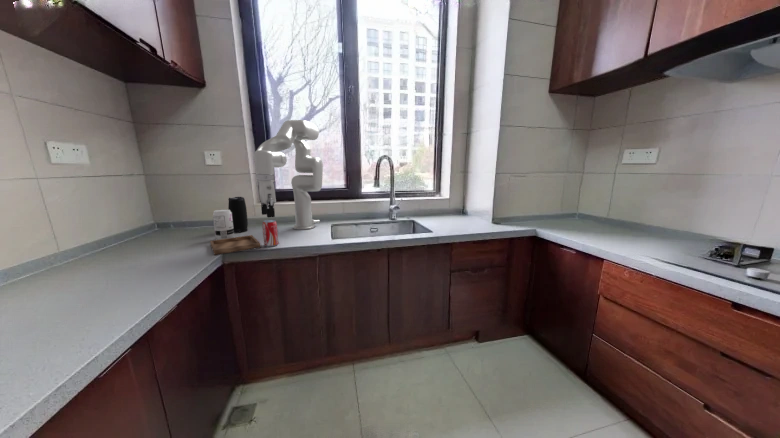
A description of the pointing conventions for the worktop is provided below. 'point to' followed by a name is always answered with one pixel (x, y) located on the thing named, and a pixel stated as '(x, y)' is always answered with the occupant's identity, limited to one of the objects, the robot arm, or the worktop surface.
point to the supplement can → (223, 224)
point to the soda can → (270, 233)
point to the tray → (234, 244)
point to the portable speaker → (238, 213)
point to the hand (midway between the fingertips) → (268, 215)
